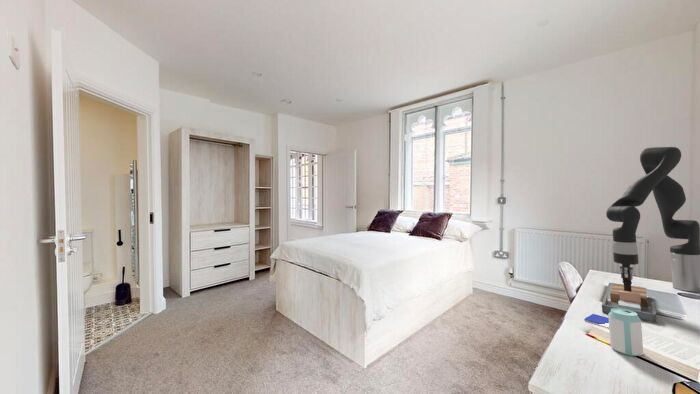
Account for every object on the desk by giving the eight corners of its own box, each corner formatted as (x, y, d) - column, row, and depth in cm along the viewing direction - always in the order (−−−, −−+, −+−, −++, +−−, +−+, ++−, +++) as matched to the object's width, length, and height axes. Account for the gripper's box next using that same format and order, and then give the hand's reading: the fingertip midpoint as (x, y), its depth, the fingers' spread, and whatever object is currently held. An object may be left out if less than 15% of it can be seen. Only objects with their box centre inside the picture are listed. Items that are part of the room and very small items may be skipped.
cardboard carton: (613, 291, 131) (612, 283, 131) (646, 296, 123) (646, 287, 123) (610, 302, 118) (610, 293, 118) (647, 308, 110) (647, 298, 110)
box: (605, 301, 119) (604, 294, 120) (654, 309, 109) (654, 302, 109) (602, 312, 109) (601, 305, 109) (656, 323, 98) (656, 314, 98)
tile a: (619, 290, 115) (619, 291, 113) (640, 293, 110) (640, 294, 109) (620, 304, 115) (620, 306, 113) (641, 307, 110) (641, 309, 109)
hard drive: (637, 324, 96) (593, 313, 106) (629, 331, 92) (584, 318, 102) (638, 329, 96) (593, 317, 106) (629, 335, 92) (584, 322, 102)
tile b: (618, 304, 108) (619, 311, 108) (640, 308, 104) (641, 314, 104) (618, 300, 113) (618, 306, 112) (639, 303, 108) (640, 309, 108)
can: (609, 342, 87) (606, 305, 87) (640, 349, 83) (638, 310, 83) (611, 352, 82) (609, 313, 82) (645, 360, 77) (642, 318, 77)
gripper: (638, 255, 109) (640, 298, 108) (637, 250, 118) (640, 290, 118) (612, 253, 114) (614, 294, 114) (613, 248, 123) (616, 286, 123)
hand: (627, 292), depth 116 cm, fingers closed
